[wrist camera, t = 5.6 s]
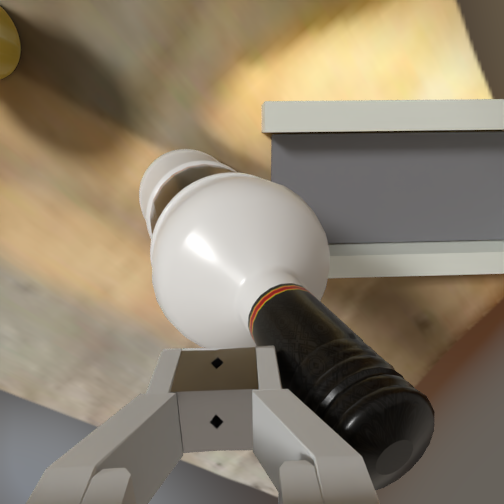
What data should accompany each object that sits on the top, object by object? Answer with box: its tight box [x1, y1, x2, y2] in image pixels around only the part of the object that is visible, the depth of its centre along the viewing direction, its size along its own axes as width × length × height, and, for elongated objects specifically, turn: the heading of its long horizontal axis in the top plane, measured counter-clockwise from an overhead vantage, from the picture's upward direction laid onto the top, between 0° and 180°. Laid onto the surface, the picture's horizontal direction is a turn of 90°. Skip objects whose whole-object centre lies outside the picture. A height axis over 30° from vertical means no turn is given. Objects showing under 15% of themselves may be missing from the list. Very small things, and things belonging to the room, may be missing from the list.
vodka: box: [139, 149, 434, 490], centre depth 20 cm, size 9×9×30 cm
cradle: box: [262, 99, 504, 278], centre depth 32 cm, size 17×30×5 cm, turn 91°
